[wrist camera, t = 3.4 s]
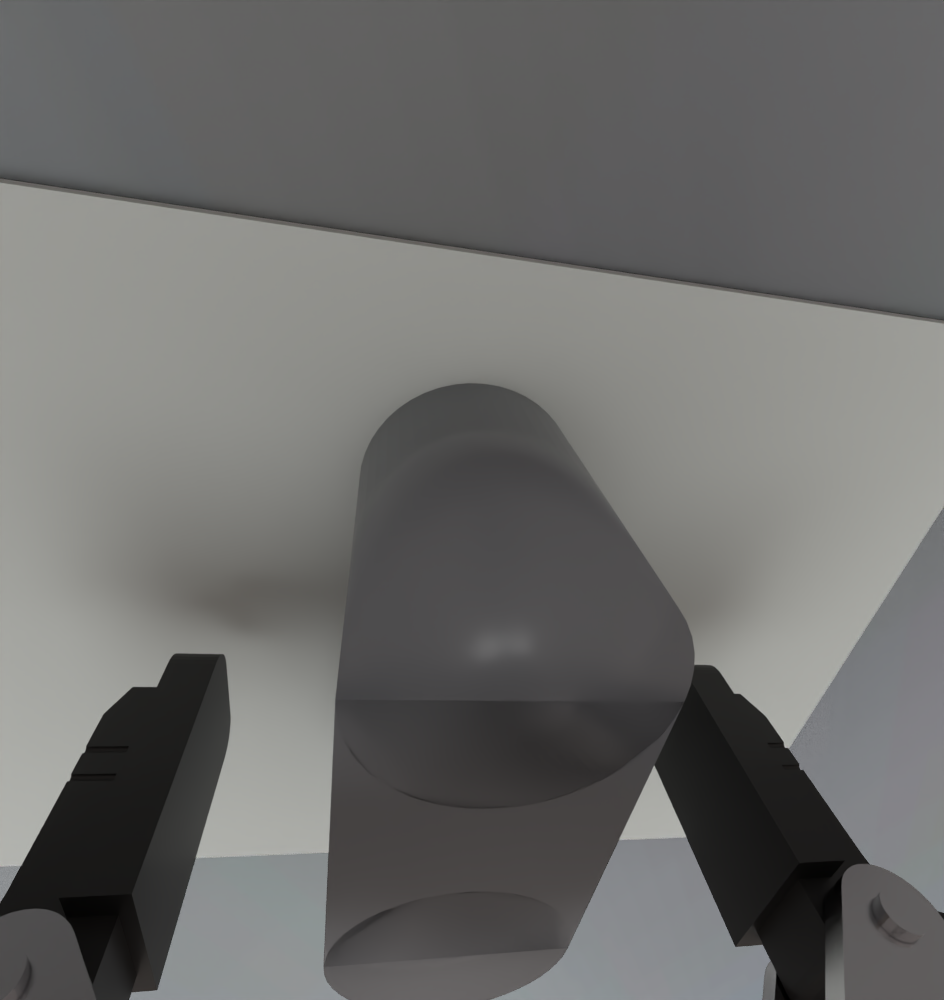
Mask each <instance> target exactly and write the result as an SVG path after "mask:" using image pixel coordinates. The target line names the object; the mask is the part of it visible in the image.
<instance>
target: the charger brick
mask: <svg viewBox="0 0 944 1000" xmlns="http://www.w3.org/2000/svg"><path fill="white" fill-rule="evenodd" d="M694 659H695V652H694V645H693V638H692V635H691V632H690V629H689V627H688V624H687V621H686V619H685V618H684V616H683V614H682V613H681V611H680V609H679V608H678V606H677V605H676V603H675V602H674V600H673V599H672V597H671V596H670V594H669V593H668V591H667V590H666V588H665V587H664V585H663V583H662V582H661V580H660V579H659V577H658V576H657V574H656V573H655V571H654V570H653V568H652V567H651V565H650V564H649V562H648V561H647V559H646V558H645V556H644V555H643V553H642V552H641V550H640V549H639V547H638V546H637V544H636V543H635V541H634V540H633V538H632V537H631V535H630V534H629V532H628V531H627V529H626V528H625V526H624V525H623V523H622V522H621V520H620V519H619V517H618V516H617V514H616V513H615V511H614V510H613V508H612V507H611V505H610V504H609V502H608V501H607V499H606V498H605V496H604V495H603V493H602V492H601V490H600V489H599V487H598V485H597V484H596V482H595V481H594V479H593V478H592V476H591V475H590V473H589V472H588V470H587V469H586V467H585V466H584V464H583V463H582V461H581V460H580V458H579V457H578V455H577V454H576V452H575V451H574V449H573V448H572V446H571V445H570V443H569V442H568V440H567V439H566V437H565V436H564V434H563V433H562V431H561V430H560V428H559V427H558V425H557V424H556V422H555V421H554V420H553V419H552V418H551V416H550V415H549V414H548V413H547V412H546V411H545V410H544V409H542V408H541V407H540V406H539V405H538V404H536V403H535V402H533V401H532V400H530V399H529V398H527V397H525V396H523V395H521V394H519V393H517V392H515V391H512V390H509V389H506V388H503V387H500V386H494V385H489V384H477V383H466V384H454V385H450V386H445V387H440V388H437V389H434V390H431V391H429V392H426V393H423V394H421V395H419V396H417V397H415V398H414V399H412V400H410V401H408V402H407V403H405V404H404V405H403V406H401V407H400V408H398V409H397V410H396V411H395V412H394V413H393V414H391V415H390V416H389V417H388V418H387V419H386V420H385V422H384V423H383V424H382V425H381V426H380V427H379V429H378V430H377V432H376V433H375V435H374V436H373V438H372V439H371V441H370V443H369V445H368V448H367V450H366V452H365V455H364V458H363V462H362V465H361V472H360V479H359V488H358V498H357V507H356V516H355V525H354V534H353V543H352V552H351V561H350V570H349V579H348V588H347V597H346V606H345V616H344V625H343V634H342V643H341V652H340V661H339V670H338V679H337V688H336V697H335V716H334V739H333V762H332V785H331V808H330V832H329V855H328V878H327V901H326V924H325V947H324V975H325V978H326V980H327V982H328V983H329V985H330V986H331V987H332V989H334V990H335V991H336V992H337V993H338V994H340V995H341V996H343V997H345V998H346V999H348V1000H490V999H493V998H496V997H499V996H502V995H505V994H507V993H510V992H512V991H514V990H517V989H519V988H521V987H523V986H525V985H527V984H529V983H531V982H532V981H534V980H535V979H537V978H539V977H540V976H542V975H543V974H544V973H546V972H547V971H549V970H550V969H551V968H552V967H553V966H554V965H555V964H556V963H557V962H558V961H559V960H560V959H561V958H562V956H563V955H564V953H565V952H566V950H567V948H568V946H569V944H570V942H571V940H572V938H573V936H574V934H575V932H576V929H577V927H578V925H579V923H580V921H581V919H582V917H583V915H584V913H585V910H586V908H587V906H588V904H589V902H590V900H591V898H592V896H593V894H594V891H595V889H596V887H597V885H598V883H599V881H600V879H601V877H602V875H603V872H604V870H605V868H606V866H607V864H608V862H609V860H610V858H611V856H612V853H613V851H614V849H615V847H616V845H617V843H618V841H619V839H620V837H621V834H622V832H623V830H624V828H625V826H626V824H627V822H628V820H629V818H630V815H631V813H632V811H633V809H634V807H635V805H636V803H637V801H638V799H639V797H640V794H641V792H642V790H643V788H644V786H645V784H646V782H647V780H648V778H649V775H650V773H651V771H652V769H653V767H654V765H655V763H656V761H657V759H658V756H659V754H660V752H661V750H662V748H663V746H664V744H665V742H666V740H667V737H668V735H669V733H670V731H671V729H672V727H673V725H674V723H675V721H676V718H677V716H678V714H679V712H680V710H681V708H682V706H683V704H684V702H685V699H686V696H687V694H688V691H689V689H690V686H691V682H692V677H693V672H694Z"/></svg>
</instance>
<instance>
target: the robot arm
mask: <svg viewBox="0 0 944 1000" xmlns="http://www.w3.org/2000/svg"><path fill="white" fill-rule="evenodd" d="M230 724H231V713H230V701H229V689H228V677H227V665H226V658H225V656H224V654H187V653H175V654H174V655H173V656H172V657H171V658H170V660H169V662H168V664H167V666H166V668H165V671H164V673H163V675H162V677H161V679H160V681H159V683H158V686H157V687H132V688H131V689H130V690H129V691H128V692H127V693H126V694H125V695H123V696H122V697H121V698H120V699H119V700H118V701H117V702H116V703H115V704H114V705H113V706H112V707H111V708H109V709H108V710H107V711H106V712H105V713H104V714H103V716H102V718H101V720H100V721H99V723H98V725H97V727H96V729H95V731H94V732H93V734H92V736H91V738H90V740H89V742H88V744H87V745H86V750H85V753H82V755H81V756H80V758H79V760H78V762H77V764H76V766H75V768H74V769H73V771H72V773H71V778H70V781H67V782H66V784H65V786H64V788H63V790H62V791H61V793H60V795H59V797H58V799H57V801H56V803H55V804H54V806H53V808H52V810H51V812H50V814H49V815H48V817H47V819H46V821H45V823H44V825H43V827H42V828H41V830H40V832H39V834H38V836H37V838H36V839H35V841H34V843H33V845H32V847H31V849H30V851H29V852H28V854H27V856H26V858H25V860H24V862H23V863H22V865H21V867H20V869H19V871H18V873H17V874H16V876H15V878H14V880H13V882H12V884H11V886H10V887H9V889H8V891H7V893H6V894H5V896H4V898H3V899H2V901H1V903H0V1000H129V998H130V995H131V992H140V991H153V990H157V989H158V985H159V982H160V979H161V975H162V972H163V968H164V965H165V961H166V958H167V955H168V951H169V948H170V944H171V941H172V937H173V934H174V930H175V927H176V924H177V920H178V917H179V913H180V910H181V906H182V903H183V900H184V896H185V893H186V889H187V886H188V882H189V879H190V876H191V872H192V869H193V865H194V862H195V858H196V855H197V851H198V848H199V845H200V841H201V838H202V834H203V831H204V827H205V824H206V821H207V817H208V814H209V810H210V807H211V803H212V800H213V797H214V793H215V790H216V786H217V783H218V779H219V776H220V772H221V769H222V766H223V762H224V759H225V755H226V751H227V747H228V741H229V734H230ZM654 766H655V768H656V770H657V772H658V775H659V777H660V779H661V781H662V783H663V786H664V788H665V790H666V792H667V795H668V797H669V799H670V801H671V804H672V806H673V808H674V810H675V813H676V815H677V817H678V819H679V822H680V824H681V826H682V828H683V830H684V833H685V835H686V837H687V839H688V842H689V844H690V846H691V848H692V851H693V853H694V855H695V857H696V860H697V862H698V864H699V866H700V869H701V871H702V873H703V875H704V877H705V880H706V882H707V884H708V886H709V889H710V891H711V893H712V895H713V898H714V900H715V902H716V904H717V907H718V909H719V911H720V913H721V916H722V918H723V920H724V922H725V924H726V927H727V929H728V931H729V933H730V936H731V938H732V940H733V942H734V945H735V947H739V946H752V945H763V946H764V948H765V950H766V952H767V954H768V956H769V958H770V960H771V961H770V962H769V963H768V965H767V967H766V970H765V975H764V986H763V998H762V1000H944V913H941V912H938V911H937V910H936V909H935V908H934V907H933V905H932V904H931V903H930V902H929V901H928V900H927V899H926V898H925V897H924V896H923V895H922V894H921V893H920V892H919V891H918V890H917V889H915V888H914V887H913V886H912V885H911V884H909V883H908V882H906V881H905V880H904V879H902V878H901V877H899V876H897V875H896V874H894V873H892V872H890V871H888V870H886V869H884V868H881V867H878V866H875V865H870V864H869V863H868V862H867V860H866V859H865V858H864V856H863V855H862V854H861V852H860V851H859V849H858V848H857V847H856V845H855V844H854V842H853V841H852V839H851V838H850V837H849V835H848V834H847V832H846V831H845V829H844V828H843V826H842V825H841V824H840V822H839V821H838V819H837V818H836V816H835V815H834V814H833V812H832V811H831V809H830V808H829V806H828V805H827V803H826V802H825V801H824V799H823V798H822V796H821V795H820V793H819V792H818V791H817V789H816V788H815V786H814V785H813V783H812V782H811V780H810V779H809V778H808V776H807V775H806V773H805V772H804V770H800V768H799V763H798V762H797V760H796V759H795V757H794V756H793V755H792V753H791V752H790V750H789V749H788V748H785V747H784V742H783V740H782V739H781V737H780V736H779V734H778V733H777V732H776V730H775V729H774V727H773V726H772V724H771V723H770V722H769V720H768V719H767V717H766V716H765V715H764V714H763V713H762V712H760V711H759V710H758V709H757V708H756V707H755V706H754V705H753V704H751V703H750V702H749V701H748V700H747V699H746V698H745V697H744V696H742V695H741V694H734V692H733V691H732V689H731V688H730V686H729V685H728V683H727V682H726V680H725V679H724V677H723V676H722V674H721V673H720V672H719V670H718V669H717V668H715V667H714V666H712V665H694V672H693V677H692V682H691V686H690V689H689V691H688V694H687V696H686V699H685V702H684V704H683V706H682V708H681V710H680V712H679V714H678V716H677V718H676V721H675V723H674V725H673V727H672V729H671V731H670V733H669V735H668V737H667V740H666V742H665V744H664V746H663V748H662V750H661V752H660V754H659V756H658V759H657V761H656V763H655V765H654Z"/></svg>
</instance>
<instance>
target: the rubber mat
mask: <svg viewBox="0 0 944 1000" xmlns="http://www.w3.org/2000/svg"><path fill="white" fill-rule="evenodd" d="M466 383H477V384H489V385H494V386H500V387H503V388H506V389H509V390H512V391H515V392H517V393H519V394H521V395H523V396H525V397H527V398H529V399H530V400H532V401H533V402H535V403H536V404H538V405H539V406H540V407H541V408H542V409H544V410H545V411H546V412H547V413H548V414H549V415H550V416H551V418H552V419H553V420H554V421H555V422H556V424H557V425H558V427H559V428H560V430H561V431H562V433H563V434H564V436H565V437H566V439H567V440H568V442H569V443H570V445H571V446H572V448H573V449H574V451H575V452H576V454H577V455H578V457H579V458H580V460H581V461H582V463H583V464H584V466H585V467H586V469H587V470H588V472H589V473H590V475H591V476H592V478H593V479H594V481H595V482H596V484H597V485H598V487H599V489H600V490H601V492H602V493H603V495H604V496H605V498H606V499H607V501H608V502H609V504H610V505H611V507H612V508H613V510H614V511H615V513H616V514H617V516H618V517H619V519H620V520H621V522H622V523H623V525H624V526H625V528H626V529H627V531H628V532H629V534H630V535H631V537H632V538H633V540H634V541H635V543H636V544H637V546H638V547H639V549H640V550H641V552H642V553H643V555H644V556H645V558H646V559H647V561H648V562H649V564H650V565H651V567H652V568H653V570H654V571H655V573H656V574H657V576H658V577H659V579H660V580H661V582H662V583H663V585H664V587H665V588H666V590H667V591H668V593H669V594H670V596H671V597H672V599H673V600H674V602H675V603H676V605H677V606H678V608H679V609H680V611H681V613H682V614H683V616H684V618H685V619H686V621H687V624H688V627H689V629H690V632H691V635H692V638H693V645H694V652H695V659H694V665H712V666H714V667H715V668H717V669H718V670H719V672H720V673H721V674H722V676H723V677H724V679H725V680H726V682H727V683H728V685H729V686H730V688H731V689H732V691H733V692H734V694H741V695H742V696H744V697H745V698H746V699H747V700H748V701H749V702H750V703H751V704H753V705H754V706H755V707H756V708H757V709H758V710H759V711H760V712H762V713H763V714H764V715H765V716H766V717H767V719H768V720H769V722H770V723H771V724H772V726H773V727H774V729H775V730H776V732H777V733H778V734H779V736H780V737H781V739H782V740H783V742H784V747H785V748H788V749H789V748H790V746H791V745H792V743H793V741H794V740H795V738H796V737H797V735H798V734H799V732H800V731H801V729H802V727H803V726H804V724H805V723H806V721H807V720H808V718H809V716H810V715H811V713H812V712H813V710H814V709H815V707H816V706H817V704H818V702H819V701H820V699H821V698H822V696H823V695H824V693H825V691H826V690H827V688H828V687H829V685H830V684H831V682H832V681H833V679H834V677H835V676H836V674H837V673H838V671H839V670H840V668H841V666H842V665H843V663H844V662H845V660H846V659H847V657H848V655H849V654H850V652H851V651H852V649H853V648H854V646H855V645H856V643H857V641H858V640H859V638H860V637H861V635H862V634H863V632H864V630H865V629H866V627H867V626H868V624H869V623H870V621H871V620H872V618H873V616H874V615H875V613H876V612H877V610H878V609H879V607H880V605H881V604H882V602H883V601H884V599H885V598H886V596H887V595H888V593H889V591H890V590H891V588H892V587H893V585H894V584H895V582H896V580H897V579H898V577H899V576H900V574H901V573H902V571H903V570H904V568H905V566H906V565H907V563H908V562H909V560H910V559H911V557H912V555H913V554H914V552H915V551H916V549H917V548H918V546H919V545H920V543H921V541H922V540H923V538H924V537H925V535H926V534H927V532H928V530H929V529H930V527H931V526H932V524H933V523H934V521H935V520H936V518H937V516H938V515H939V513H940V512H941V510H942V509H943V507H944V321H943V320H936V319H930V318H923V317H916V316H910V315H903V314H897V313H890V312H883V311H877V310H870V309H863V308H857V307H850V306H843V305H837V304H830V303H824V302H817V301H810V300H804V299H797V298H790V297H784V296H777V295H770V294H764V293H757V292H751V291H744V290H737V289H731V288H724V287H717V286H711V285H704V284H697V283H691V282H684V281H678V280H671V279H664V278H658V277H651V276H644V275H638V274H631V273H624V272H618V271H611V270H605V269H598V268H591V267H585V266H578V265H571V264H565V263H558V262H551V261H545V260H538V259H532V258H525V257H518V256H512V255H505V254H498V253H492V252H485V251H478V250H472V249H465V248H459V247H452V246H445V245H439V244H432V243H425V242H419V241H412V240H405V239H399V238H392V237H386V236H379V235H372V234H366V233H359V232H352V231H346V230H339V229H332V228H326V227H319V226H313V225H306V224H299V223H293V222H286V221H279V220H273V219H266V218H259V217H253V216H246V215H240V214H233V213H226V212H220V211H213V210H206V209H200V208H193V207H186V206H180V205H173V204H167V203H160V202H153V201H147V200H140V199H133V198H127V197H120V196H113V195H107V194H100V193H94V192H87V191H80V190H74V189H67V188H60V187H54V186H47V185H40V184H34V183H27V182H21V181H14V180H7V179H1V178H0V867H2V866H21V865H22V863H23V862H24V860H25V858H26V856H27V854H28V852H29V851H30V849H31V847H32V845H33V843H34V841H35V839H36V838H37V836H38V834H39V832H40V830H41V828H42V827H43V825H44V823H45V821H46V819H47V817H48V815H49V814H50V812H51V810H52V808H53V806H54V804H55V803H56V801H57V799H58V797H59V795H60V793H61V791H62V790H63V788H64V786H65V784H66V782H67V781H70V778H71V773H72V771H73V769H74V768H75V766H76V764H77V762H78V760H79V758H80V756H81V755H82V753H85V750H86V745H87V744H88V742H89V740H90V738H91V736H92V734H93V732H94V731H95V729H96V727H97V725H98V723H99V721H100V720H101V718H102V716H103V714H104V713H105V712H106V711H107V710H108V709H109V708H111V707H112V706H113V705H114V704H115V703H116V702H117V701H118V700H119V699H120V698H121V697H122V696H123V695H125V694H126V693H127V692H128V691H129V690H130V689H131V688H132V687H157V686H158V683H159V681H160V679H161V677H162V675H163V673H164V671H165V668H166V666H167V664H168V662H169V660H170V658H171V657H172V656H173V655H174V654H175V653H187V654H224V656H225V658H226V665H227V677H228V689H229V701H230V713H231V724H230V734H229V741H228V747H227V751H226V755H225V759H224V762H223V766H222V769H221V772H220V776H219V779H218V783H217V786H216V790H215V793H214V797H213V800H212V803H211V807H210V810H209V814H208V817H207V821H206V824H205V827H204V831H203V834H202V838H201V841H200V845H199V848H198V851H197V855H196V858H212V857H236V856H259V855H282V854H306V853H329V832H330V808H331V785H332V762H333V739H334V716H335V697H336V688H337V679H338V670H339V661H340V652H341V643H342V634H343V625H344V616H345V606H346V597H347V588H348V579H349V570H350V561H351V552H352V543H353V534H354V525H355V516H356V507H357V498H358V488H359V479H360V472H361V465H362V462H363V458H364V455H365V452H366V450H367V448H368V445H369V443H370V441H371V439H372V438H373V436H374V435H375V433H376V432H377V430H378V429H379V427H380V426H381V425H382V424H383V423H384V422H385V420H386V419H387V418H388V417H389V416H390V415H391V414H393V413H394V412H395V411H396V410H397V409H398V408H400V407H401V406H403V405H404V404H405V403H407V402H408V401H410V400H412V399H414V398H415V397H417V396H419V395H421V394H423V393H426V392H429V391H431V390H434V389H437V388H440V387H445V386H450V385H454V384H466ZM680 837H686V835H685V833H684V830H683V828H682V826H681V824H680V822H679V819H678V817H677V815H676V813H675V810H674V808H673V806H672V804H671V801H670V799H669V797H668V795H667V792H666V790H665V788H664V786H663V783H662V781H661V779H660V777H659V775H658V772H657V770H656V768H655V766H654V767H653V769H652V771H651V773H650V775H649V778H648V780H647V782H646V784H645V786H644V788H643V790H642V792H641V794H640V797H639V799H638V801H637V803H636V805H635V807H634V809H633V811H632V813H631V815H630V818H629V820H628V822H627V824H626V826H625V828H624V830H623V832H622V834H621V837H620V839H619V840H633V839H657V838H680Z"/></svg>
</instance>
